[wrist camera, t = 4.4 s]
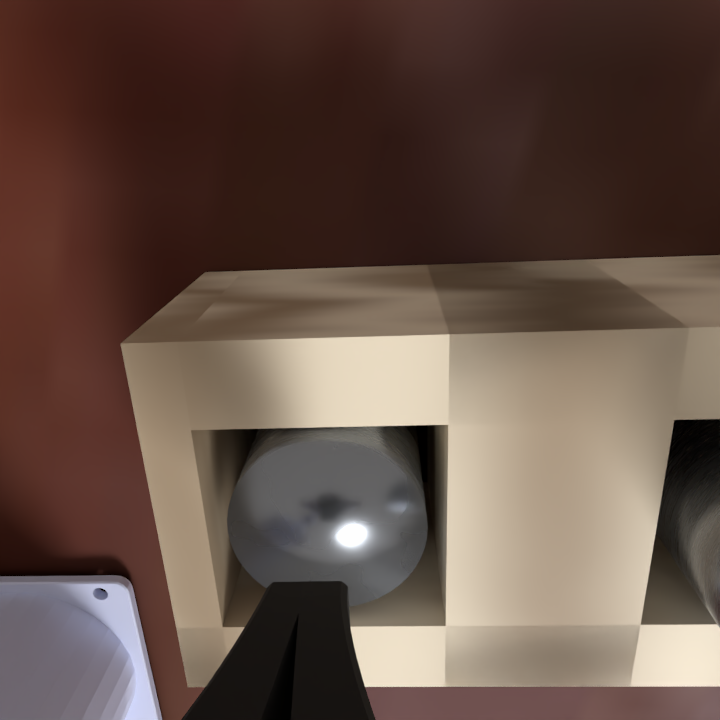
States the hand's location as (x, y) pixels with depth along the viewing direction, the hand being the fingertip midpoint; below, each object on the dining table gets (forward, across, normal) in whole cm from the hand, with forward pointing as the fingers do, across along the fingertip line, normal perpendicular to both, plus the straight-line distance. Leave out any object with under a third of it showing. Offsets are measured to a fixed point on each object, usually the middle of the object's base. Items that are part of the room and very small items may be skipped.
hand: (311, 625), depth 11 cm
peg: (+9, 0, 0) cm, 9 cm away
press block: (+8, -5, 0) cm, 10 cm away
